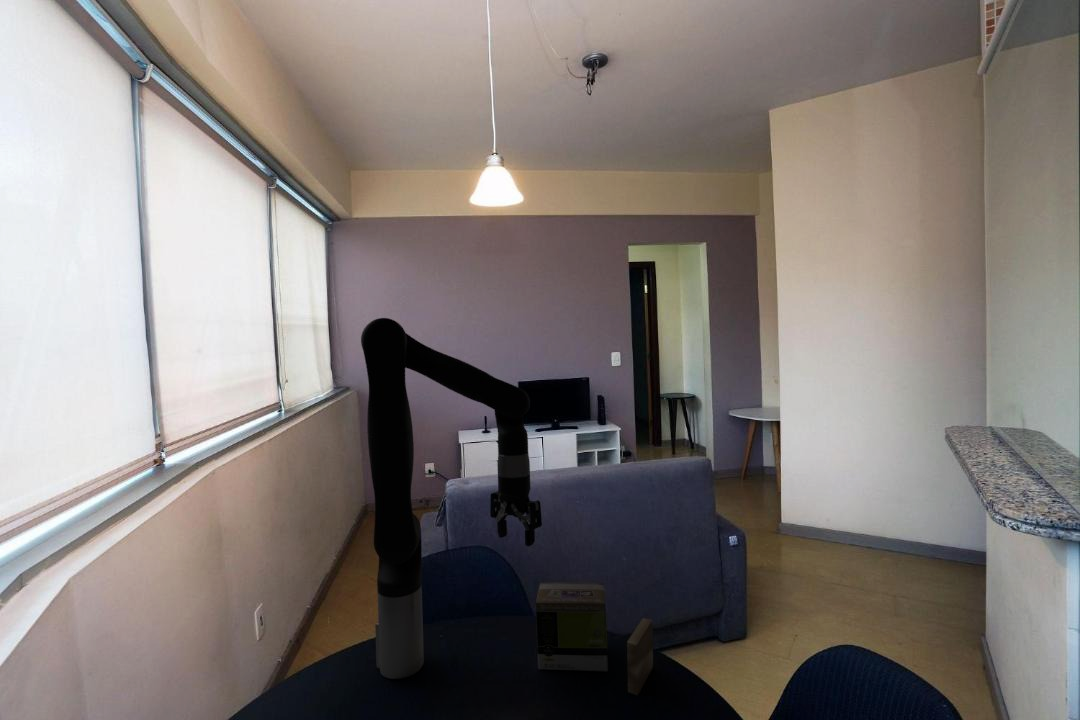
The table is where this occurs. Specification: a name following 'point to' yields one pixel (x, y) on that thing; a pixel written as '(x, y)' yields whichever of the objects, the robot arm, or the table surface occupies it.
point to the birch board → (639, 656)
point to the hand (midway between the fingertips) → (515, 540)
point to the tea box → (571, 627)
